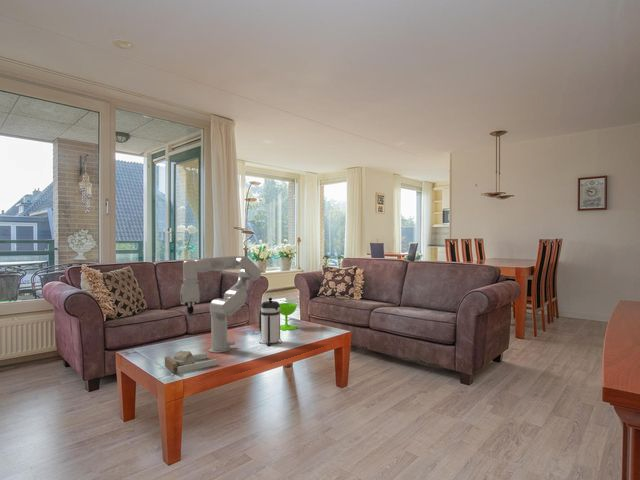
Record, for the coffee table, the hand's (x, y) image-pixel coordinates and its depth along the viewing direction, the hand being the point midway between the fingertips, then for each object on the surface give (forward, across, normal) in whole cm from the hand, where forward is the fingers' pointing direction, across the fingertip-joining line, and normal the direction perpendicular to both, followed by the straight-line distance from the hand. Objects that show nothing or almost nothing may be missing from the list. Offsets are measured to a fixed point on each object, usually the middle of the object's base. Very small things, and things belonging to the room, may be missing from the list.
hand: (190, 313), depth 218 cm
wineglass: (+26, -84, -21) cm, 91 cm away
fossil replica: (+26, +9, +13) cm, 30 cm away
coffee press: (+26, -51, +4) cm, 57 cm away
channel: (+26, +5, +13) cm, 29 cm away
